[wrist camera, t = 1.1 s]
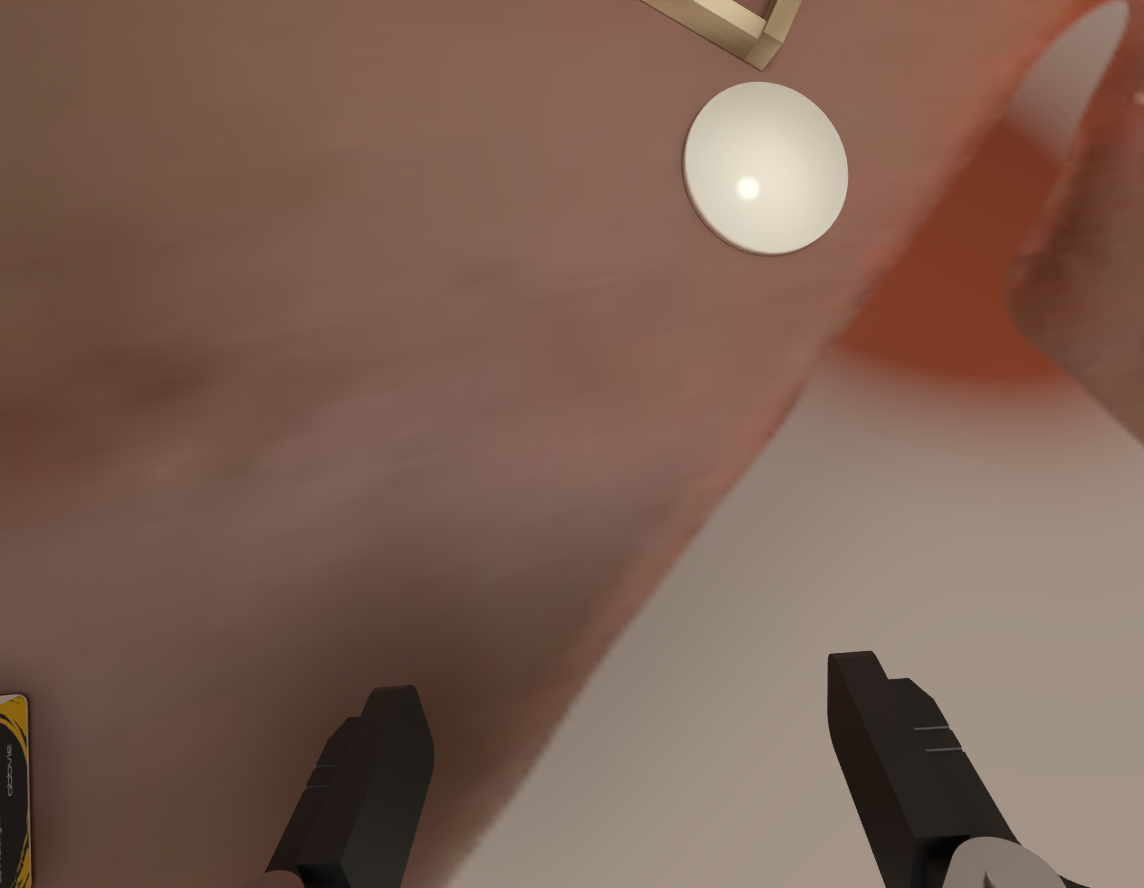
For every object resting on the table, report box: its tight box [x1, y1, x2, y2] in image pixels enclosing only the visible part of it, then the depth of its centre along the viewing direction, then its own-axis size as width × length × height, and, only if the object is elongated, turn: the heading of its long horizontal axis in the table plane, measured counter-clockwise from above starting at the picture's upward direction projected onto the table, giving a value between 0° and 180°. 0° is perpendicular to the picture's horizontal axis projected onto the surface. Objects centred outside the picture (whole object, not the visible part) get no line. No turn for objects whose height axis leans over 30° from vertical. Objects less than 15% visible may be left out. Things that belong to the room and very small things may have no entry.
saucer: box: [682, 82, 848, 256], centre depth 30 cm, size 8×8×1 cm
